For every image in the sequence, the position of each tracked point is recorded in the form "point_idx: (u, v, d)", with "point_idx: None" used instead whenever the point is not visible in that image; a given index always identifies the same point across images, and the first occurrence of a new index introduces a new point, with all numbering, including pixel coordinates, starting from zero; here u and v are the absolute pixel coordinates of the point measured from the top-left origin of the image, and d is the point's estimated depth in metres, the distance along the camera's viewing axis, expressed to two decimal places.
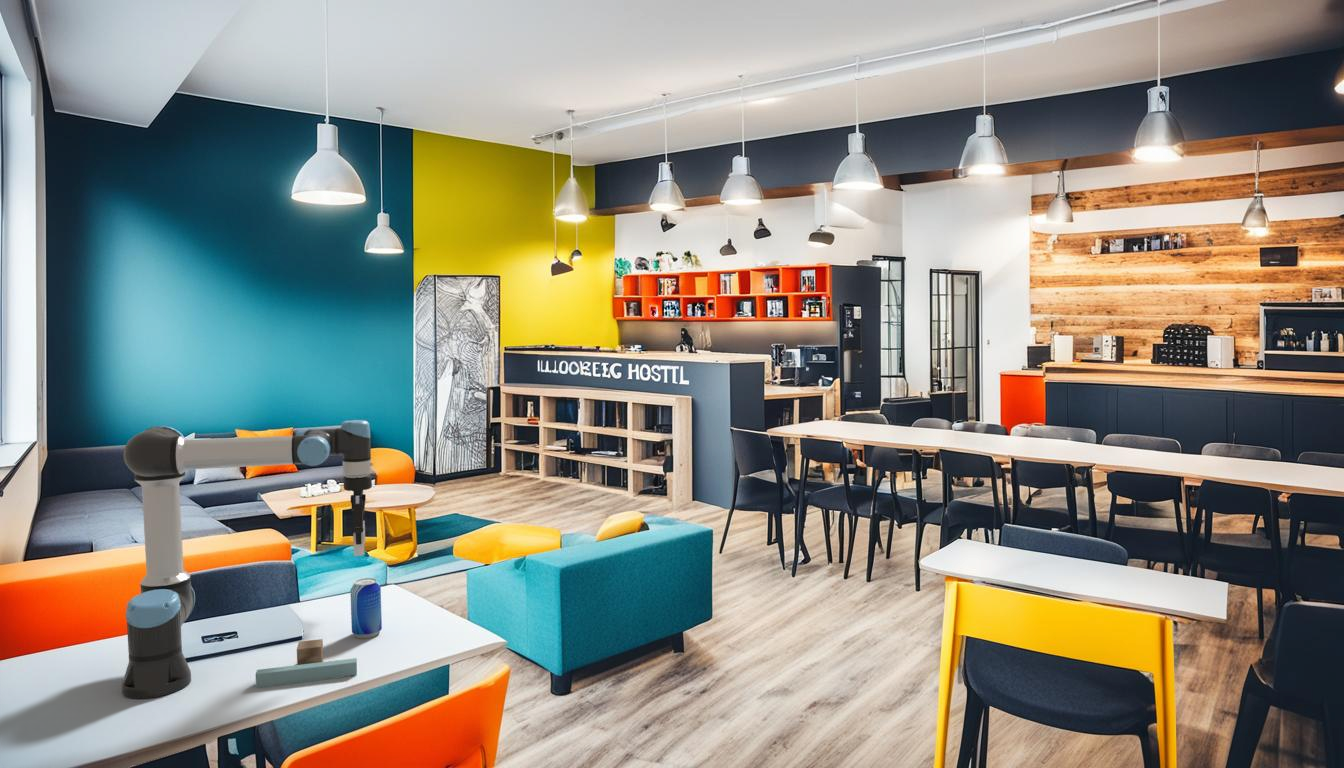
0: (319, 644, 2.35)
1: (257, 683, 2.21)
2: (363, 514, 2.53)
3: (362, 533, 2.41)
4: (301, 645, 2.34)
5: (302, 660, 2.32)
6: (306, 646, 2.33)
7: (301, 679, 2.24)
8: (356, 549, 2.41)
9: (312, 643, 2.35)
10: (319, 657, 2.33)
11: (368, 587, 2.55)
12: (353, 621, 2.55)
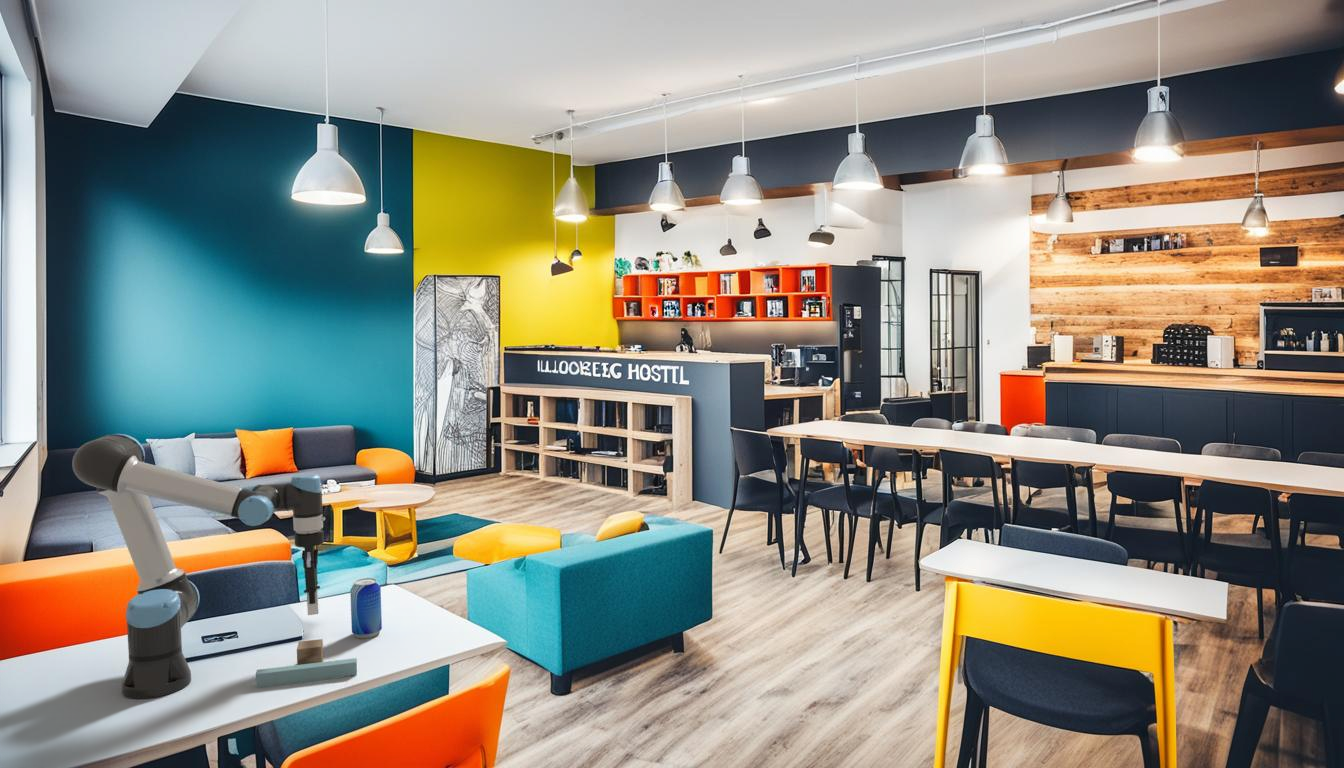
0: (319, 644, 2.35)
1: (257, 683, 2.21)
2: (316, 578, 2.43)
3: (316, 592, 2.42)
4: (301, 645, 2.34)
5: (302, 660, 2.32)
6: (306, 646, 2.33)
7: (301, 679, 2.24)
8: (310, 608, 2.42)
9: (312, 643, 2.35)
10: (319, 657, 2.33)
11: (368, 587, 2.55)
12: (353, 621, 2.55)
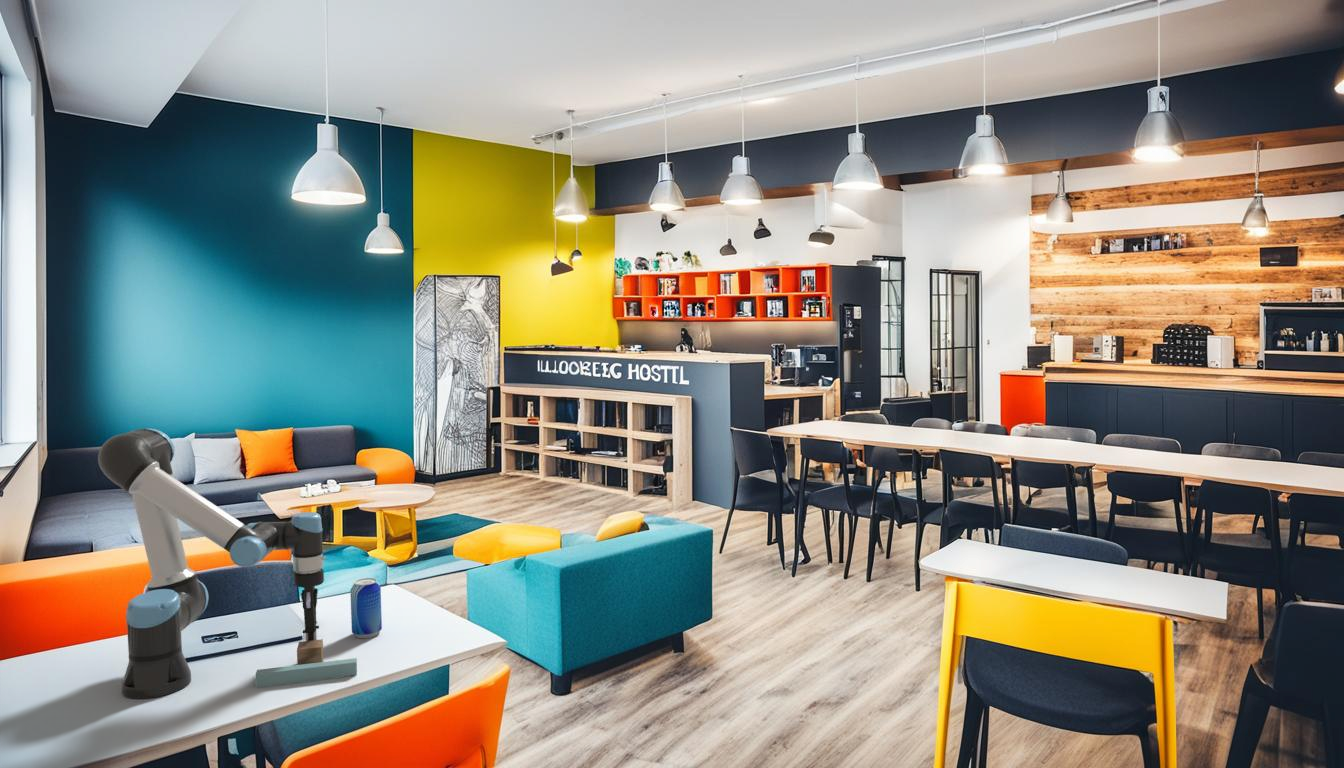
0: (320, 644, 2.34)
1: (257, 683, 2.21)
2: (315, 618, 2.40)
3: (315, 632, 2.39)
4: (301, 645, 2.34)
5: (303, 660, 2.31)
6: (306, 646, 2.33)
7: (301, 679, 2.24)
8: None
9: (312, 644, 2.35)
10: (319, 657, 2.33)
11: (368, 587, 2.55)
12: (353, 621, 2.55)
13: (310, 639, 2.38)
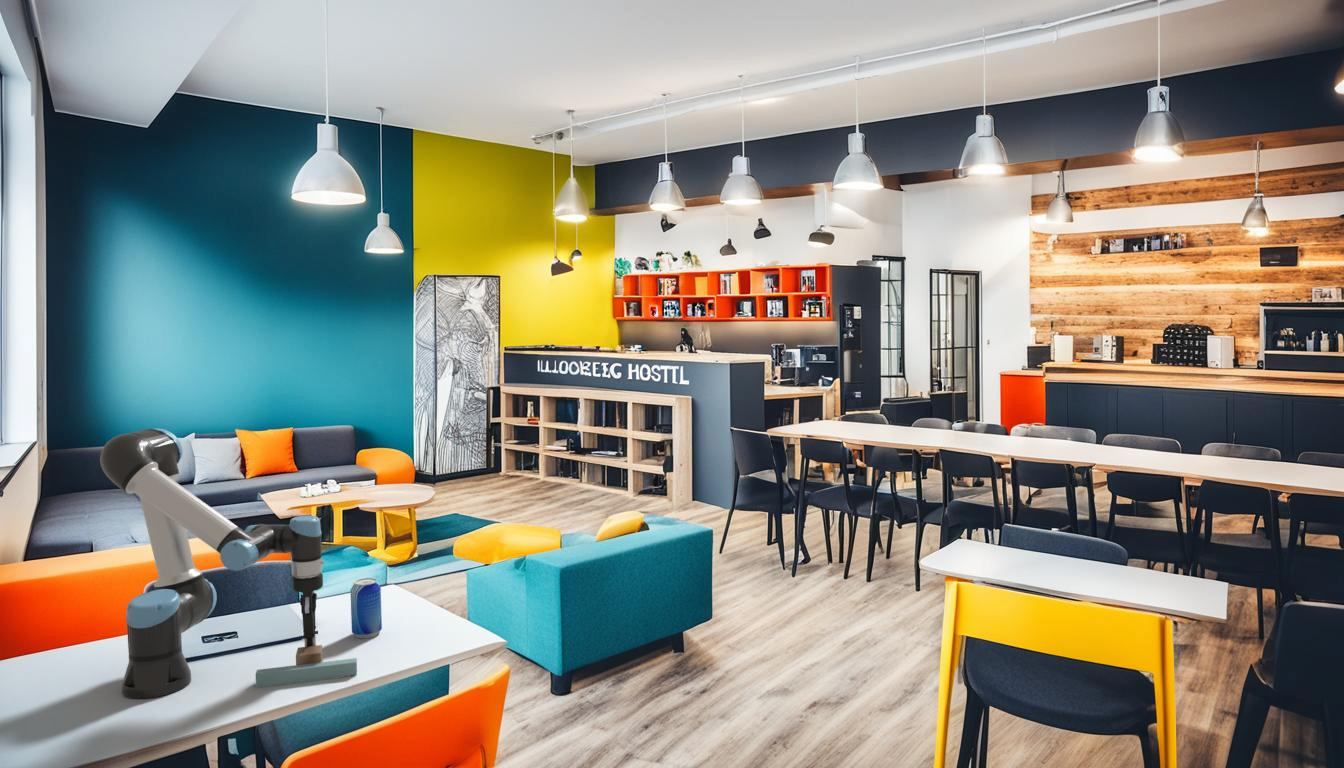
0: (319, 650, 2.30)
1: (257, 683, 2.21)
2: (314, 623, 2.36)
3: (314, 638, 2.35)
4: (300, 651, 2.29)
5: None
6: (305, 652, 2.29)
7: (301, 679, 2.24)
8: None
9: (312, 649, 2.31)
10: None
11: (368, 587, 2.55)
12: (353, 621, 2.55)
13: (309, 645, 2.33)
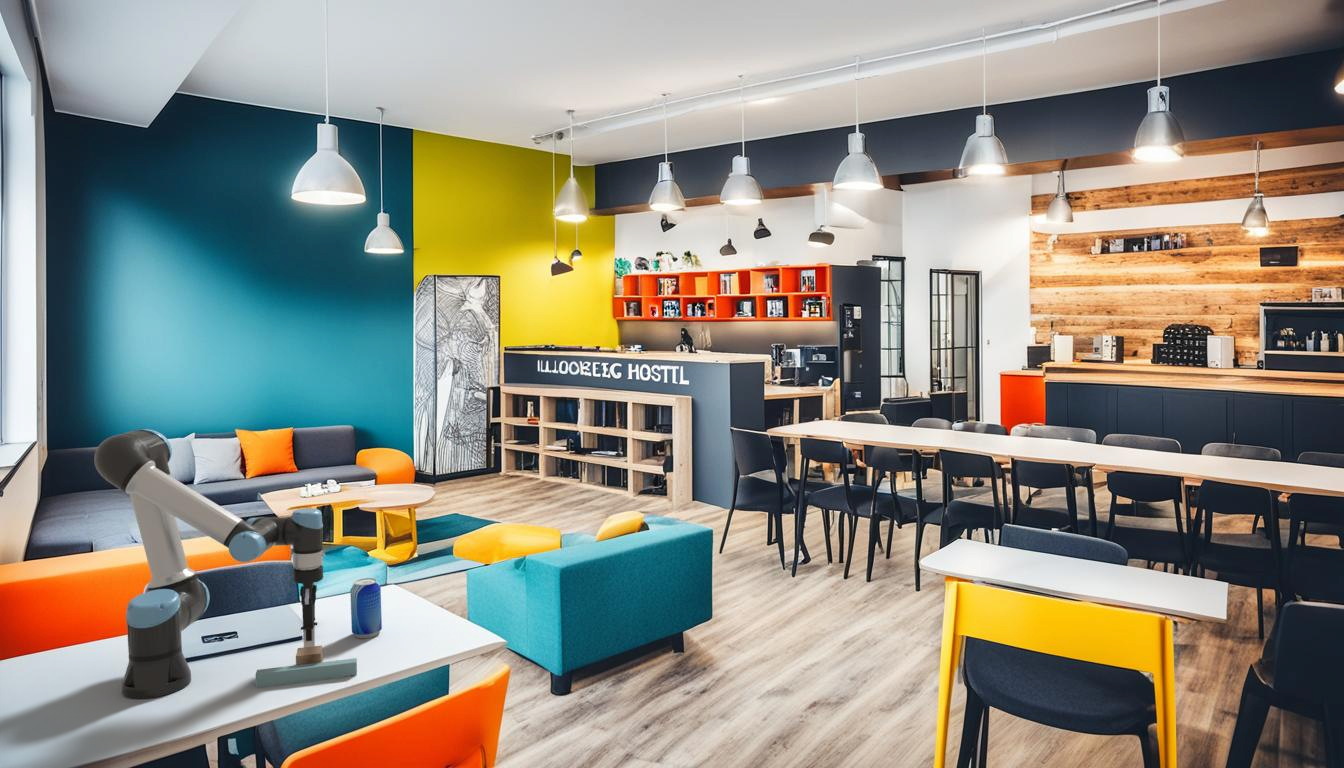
0: (319, 651, 2.30)
1: (257, 683, 2.21)
2: None
3: (313, 629, 2.38)
4: (300, 651, 2.29)
5: None
6: (305, 652, 2.29)
7: (301, 679, 2.24)
8: (306, 645, 2.38)
9: (312, 650, 2.31)
10: None
11: (368, 587, 2.55)
12: (353, 621, 2.55)
13: (308, 636, 2.37)
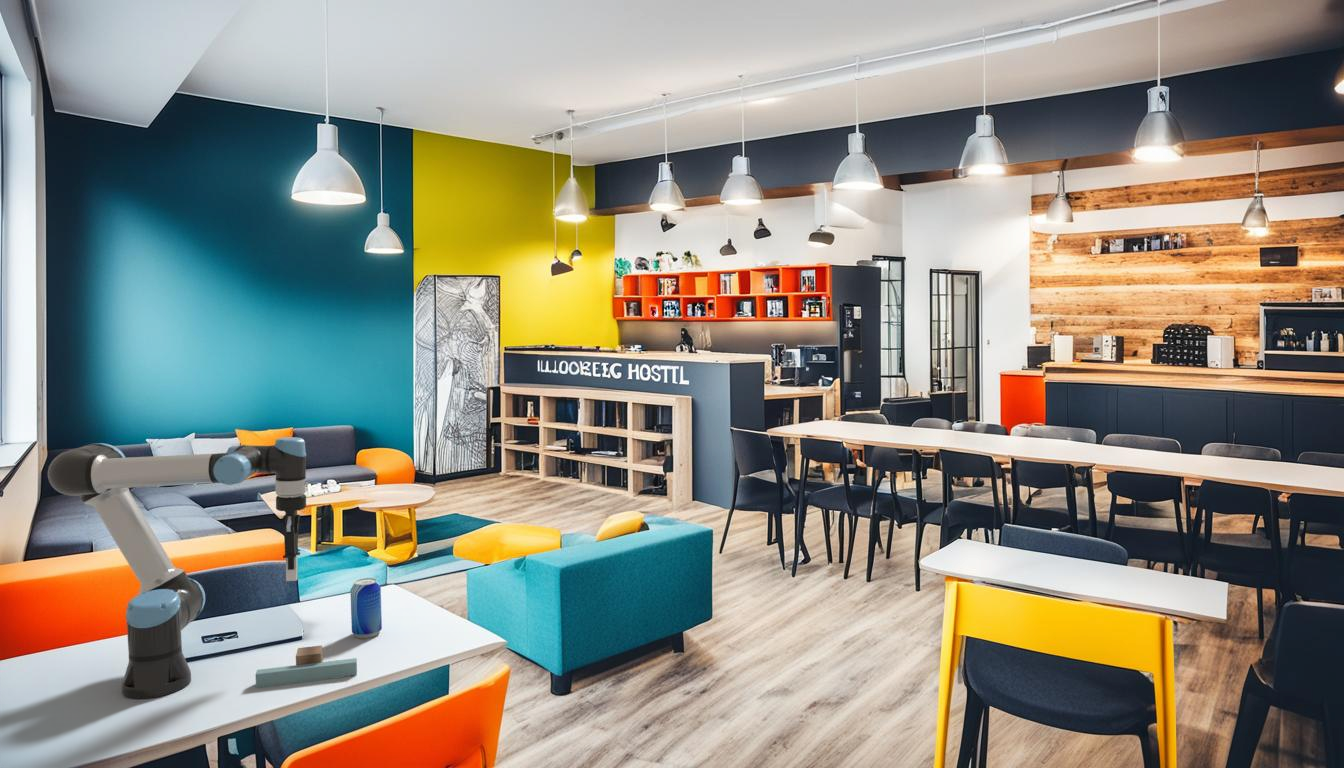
0: (319, 651, 2.30)
1: (257, 683, 2.21)
2: (296, 544, 2.39)
3: (295, 558, 2.38)
4: (300, 651, 2.29)
5: None
6: (305, 652, 2.29)
7: (301, 679, 2.24)
8: (288, 574, 2.38)
9: (312, 650, 2.31)
10: None
11: (368, 587, 2.55)
12: (353, 621, 2.55)
13: (290, 564, 2.36)
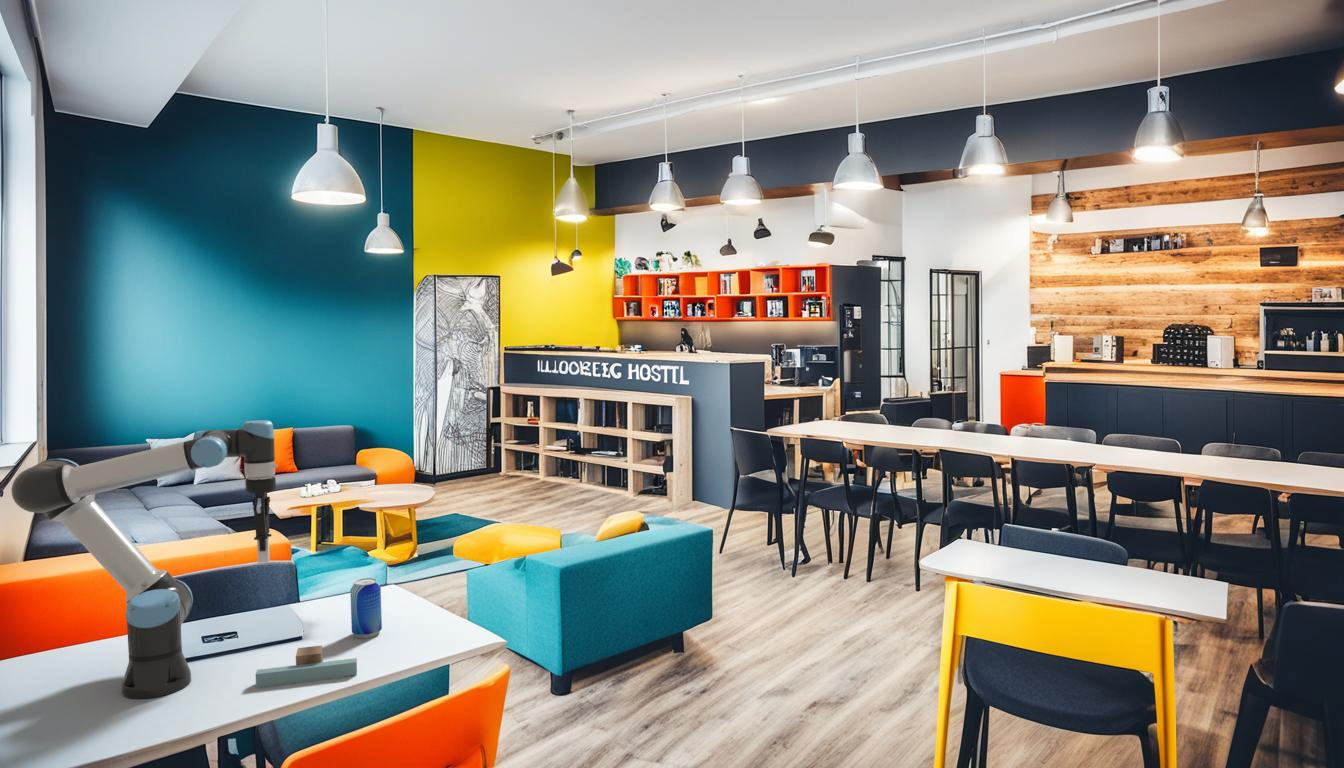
0: (319, 651, 2.30)
1: (257, 683, 2.21)
2: (267, 526, 2.41)
3: (266, 540, 2.40)
4: (300, 651, 2.29)
5: None
6: (305, 652, 2.29)
7: (301, 679, 2.24)
8: (260, 556, 2.40)
9: (312, 650, 2.31)
10: None
11: (368, 587, 2.55)
12: (353, 621, 2.55)
13: (261, 546, 2.39)
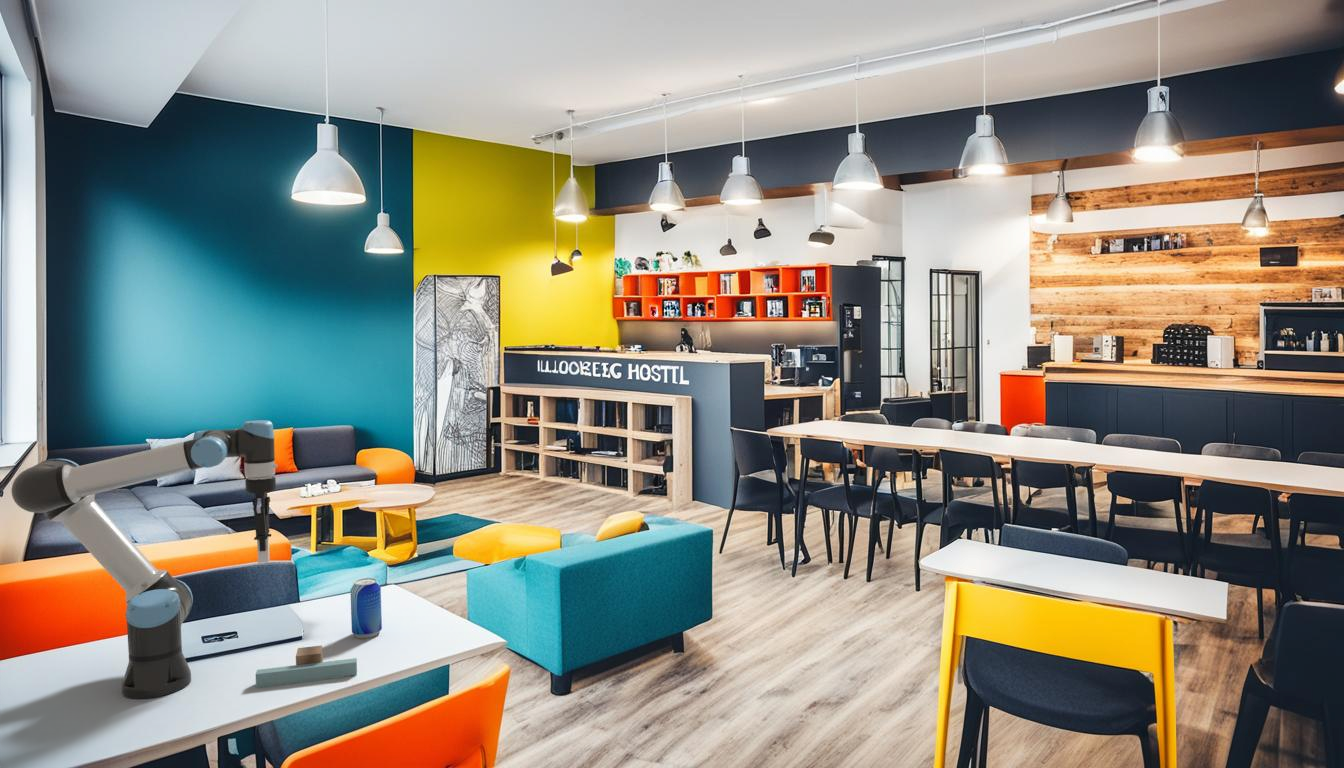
0: (319, 651, 2.30)
1: (257, 683, 2.21)
2: (267, 526, 2.41)
3: (266, 540, 2.40)
4: (300, 651, 2.29)
5: None
6: (305, 652, 2.29)
7: (301, 679, 2.24)
8: (260, 556, 2.40)
9: (312, 650, 2.31)
10: None
11: (368, 587, 2.55)
12: (353, 621, 2.55)
13: (261, 546, 2.39)
